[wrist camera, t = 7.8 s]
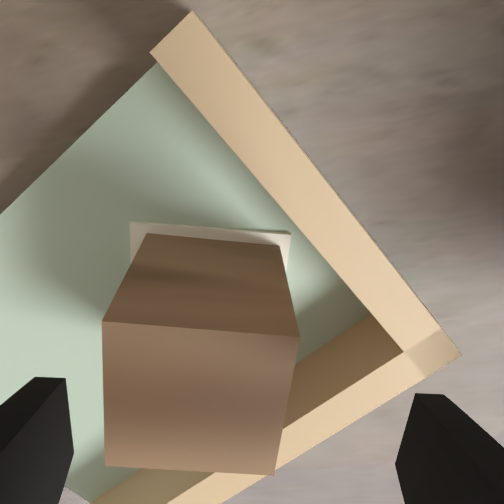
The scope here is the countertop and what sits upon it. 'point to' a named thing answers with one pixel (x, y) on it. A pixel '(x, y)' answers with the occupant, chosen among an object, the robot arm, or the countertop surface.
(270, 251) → the walnut block
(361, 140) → the countertop surface
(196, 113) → the corner board
